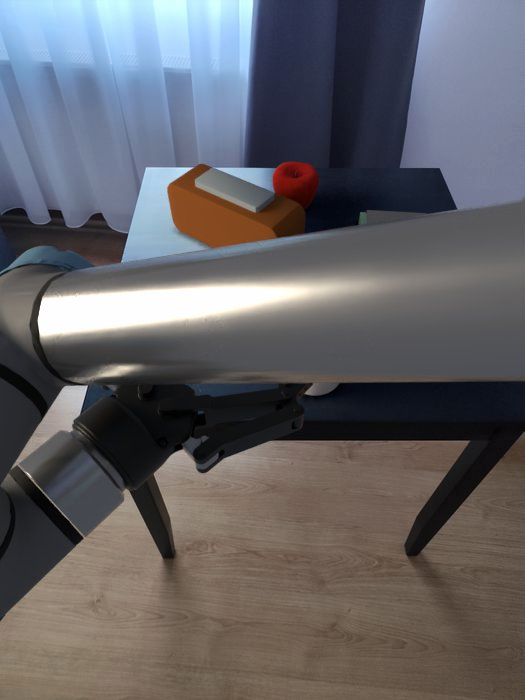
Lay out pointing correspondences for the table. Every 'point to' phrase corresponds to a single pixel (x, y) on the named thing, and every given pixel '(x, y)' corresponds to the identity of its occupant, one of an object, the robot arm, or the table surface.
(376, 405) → the table surface
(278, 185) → the apple
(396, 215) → the weighing plate
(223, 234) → the alarm clock
